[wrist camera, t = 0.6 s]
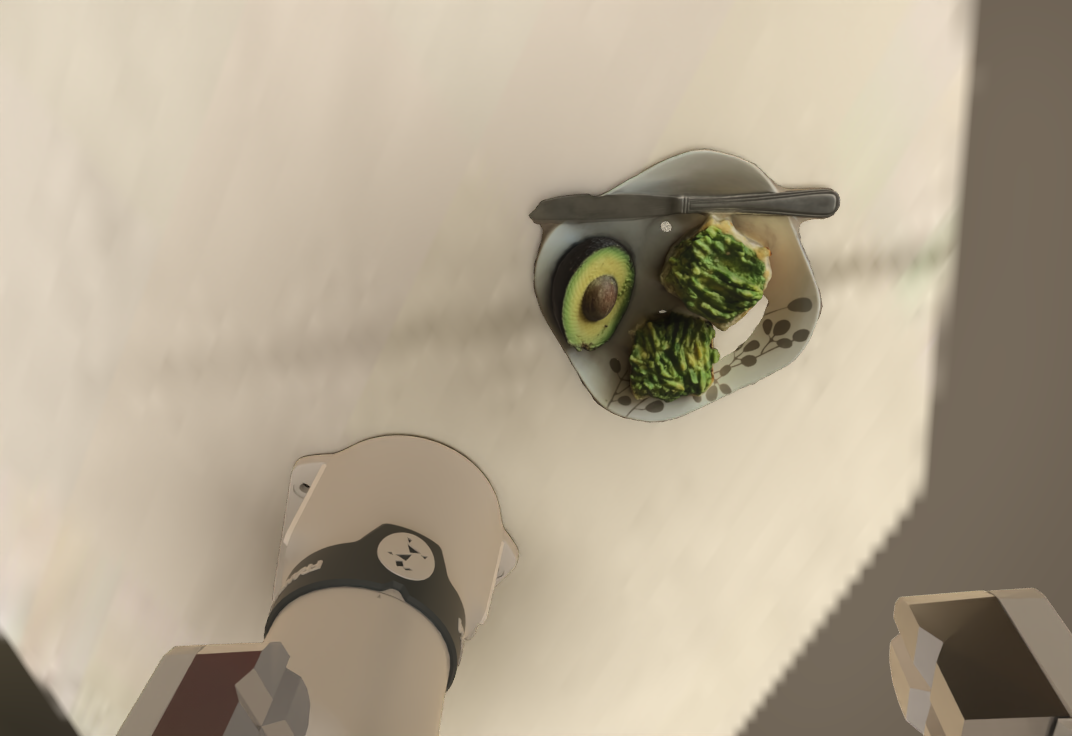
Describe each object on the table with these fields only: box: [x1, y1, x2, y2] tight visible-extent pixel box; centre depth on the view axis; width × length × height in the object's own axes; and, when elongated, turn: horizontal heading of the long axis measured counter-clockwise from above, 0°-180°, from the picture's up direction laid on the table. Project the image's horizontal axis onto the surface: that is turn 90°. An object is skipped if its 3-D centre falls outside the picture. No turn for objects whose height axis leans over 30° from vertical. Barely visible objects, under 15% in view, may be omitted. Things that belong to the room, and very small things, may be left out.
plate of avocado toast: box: [529, 149, 840, 422], centre depth 44 cm, size 19×18×5 cm
